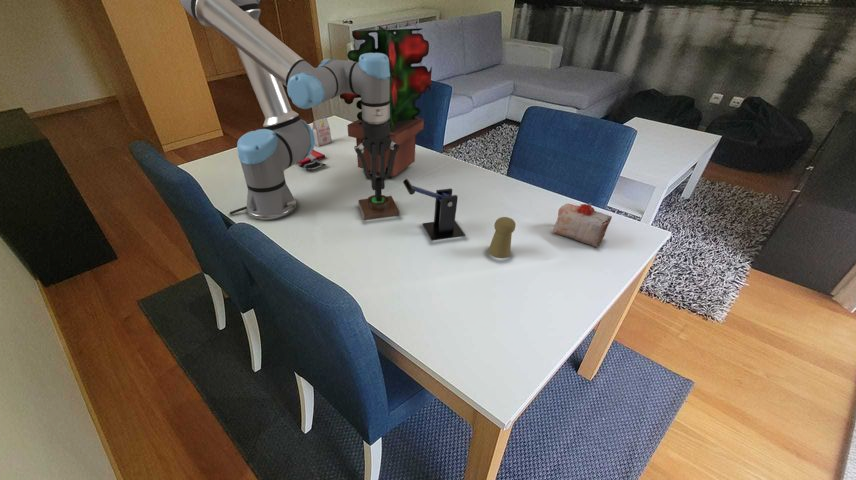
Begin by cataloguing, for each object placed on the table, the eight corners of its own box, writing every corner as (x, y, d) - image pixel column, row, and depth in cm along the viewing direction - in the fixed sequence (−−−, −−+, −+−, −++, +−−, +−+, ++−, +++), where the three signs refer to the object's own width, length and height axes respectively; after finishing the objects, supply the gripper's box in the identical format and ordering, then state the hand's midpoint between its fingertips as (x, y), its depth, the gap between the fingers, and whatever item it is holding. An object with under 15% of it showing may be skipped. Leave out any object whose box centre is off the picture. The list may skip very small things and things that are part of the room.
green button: (373, 208, 118) (373, 203, 117) (370, 201, 121) (370, 196, 120) (385, 206, 119) (385, 201, 118) (383, 200, 122) (382, 195, 121)
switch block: (364, 222, 118) (363, 210, 115) (358, 207, 125) (357, 194, 122) (399, 218, 119) (399, 205, 116) (391, 203, 127) (391, 190, 124)
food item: (548, 233, 112) (557, 203, 106) (558, 222, 117) (567, 193, 110) (596, 250, 106) (609, 219, 99) (605, 238, 110) (618, 207, 104)
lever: (407, 195, 99) (411, 186, 98) (401, 184, 103) (405, 176, 102) (452, 209, 105) (456, 201, 104) (444, 199, 109) (448, 191, 108)
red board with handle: (303, 174, 143) (336, 163, 151) (302, 167, 141) (335, 156, 149) (264, 152, 160) (295, 144, 168) (262, 146, 158) (294, 137, 166)
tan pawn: (505, 264, 101) (514, 228, 94) (483, 256, 104) (490, 221, 97) (512, 252, 105) (521, 217, 98) (491, 245, 108) (498, 211, 101)
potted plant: (425, 165, 149) (434, 27, 120) (396, 187, 135) (397, 37, 106) (378, 153, 158) (375, 23, 129) (346, 173, 144) (334, 31, 115)
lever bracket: (431, 243, 109) (434, 203, 101) (422, 226, 116) (424, 187, 107) (464, 238, 111) (470, 198, 102) (453, 222, 117) (458, 183, 109)
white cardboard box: (313, 144, 167) (310, 120, 161) (326, 140, 170) (324, 116, 164) (318, 146, 165) (315, 122, 158) (331, 142, 168) (329, 118, 162)
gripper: (354, 126, 100) (359, 207, 115) (402, 122, 102) (401, 201, 117) (350, 117, 105) (355, 195, 121) (396, 113, 107) (395, 190, 123)
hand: (378, 198), depth 119 cm, fingers closed
